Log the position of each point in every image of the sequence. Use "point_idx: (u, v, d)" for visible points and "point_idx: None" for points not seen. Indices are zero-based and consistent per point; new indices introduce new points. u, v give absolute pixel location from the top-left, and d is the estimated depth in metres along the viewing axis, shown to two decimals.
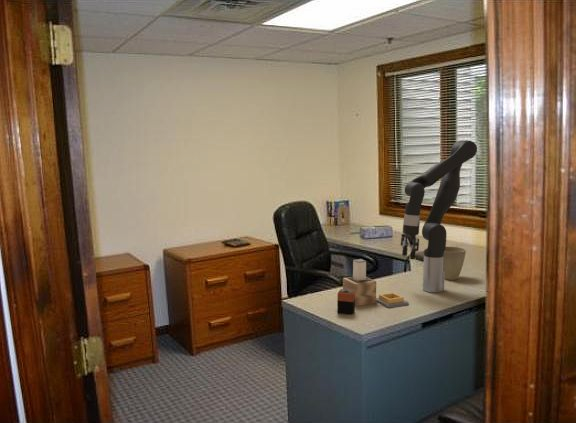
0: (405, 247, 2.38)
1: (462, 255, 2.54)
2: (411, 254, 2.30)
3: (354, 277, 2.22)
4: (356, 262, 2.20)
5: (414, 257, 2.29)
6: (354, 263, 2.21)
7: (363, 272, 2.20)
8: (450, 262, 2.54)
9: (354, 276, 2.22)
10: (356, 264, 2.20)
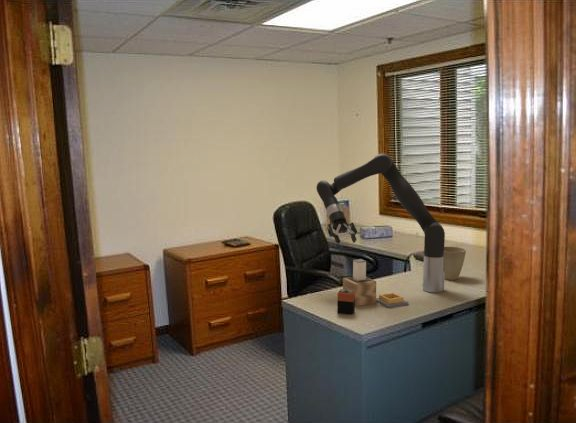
0: (351, 234, 2.34)
1: (462, 255, 2.54)
2: None
3: (354, 277, 2.22)
4: (356, 262, 2.20)
5: (336, 240, 2.29)
6: (354, 263, 2.21)
7: (363, 272, 2.20)
8: (450, 262, 2.54)
9: (354, 276, 2.22)
10: (356, 264, 2.20)
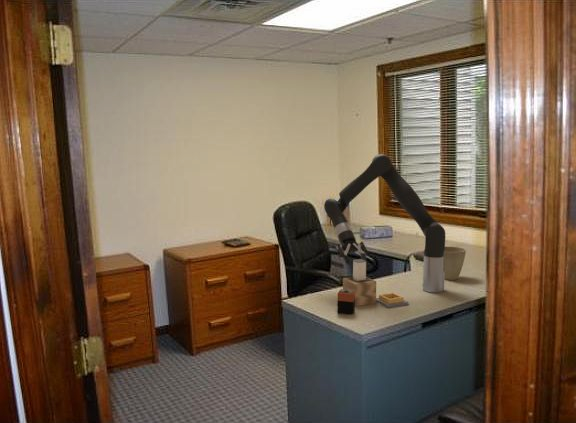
0: (361, 254, 2.27)
1: (462, 255, 2.54)
2: None
3: (354, 277, 2.22)
4: (356, 262, 2.20)
5: (346, 261, 2.22)
6: (354, 263, 2.21)
7: (363, 272, 2.20)
8: (450, 262, 2.54)
9: (354, 276, 2.22)
10: (356, 264, 2.20)
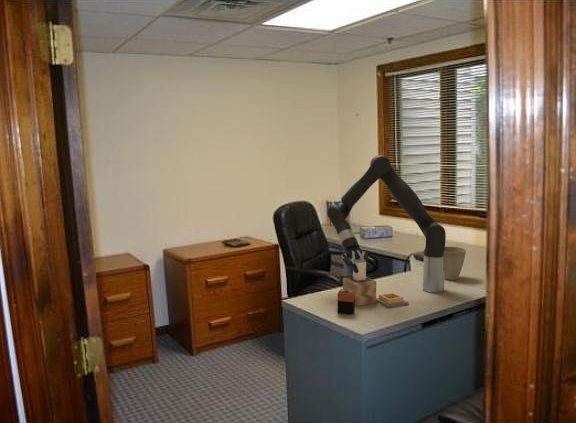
0: None
1: (462, 255, 2.54)
2: None
3: (354, 277, 2.22)
4: (356, 262, 2.20)
5: (354, 270, 2.19)
6: None
7: (363, 272, 2.20)
8: (450, 262, 2.54)
9: (354, 276, 2.22)
10: (356, 264, 2.20)
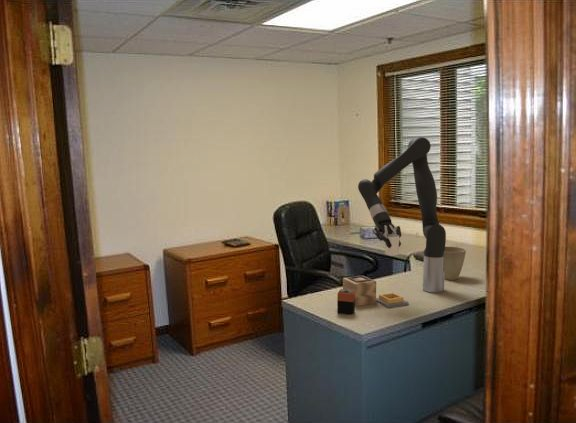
0: None
1: (462, 255, 2.54)
2: None
3: (387, 252, 2.17)
4: (389, 236, 2.15)
5: (387, 244, 2.14)
6: None
7: (396, 247, 2.15)
8: (450, 262, 2.54)
9: (387, 251, 2.17)
10: (389, 238, 2.15)
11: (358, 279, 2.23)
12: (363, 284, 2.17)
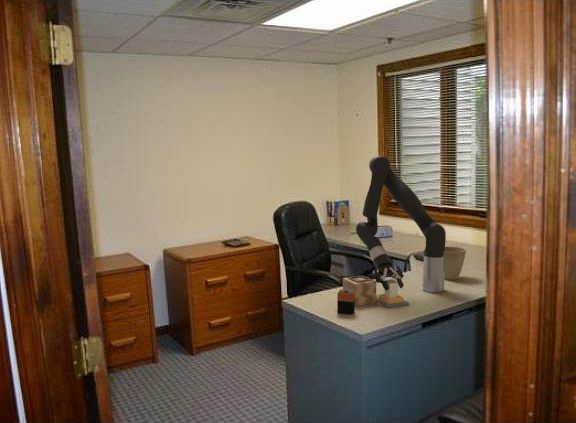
0: (397, 279, 2.22)
1: (462, 255, 2.54)
2: None
3: None
4: (388, 283, 2.18)
5: (385, 287, 2.16)
6: None
7: (395, 293, 2.18)
8: (450, 262, 2.54)
9: None
10: (388, 285, 2.18)
11: (358, 279, 2.23)
12: (363, 284, 2.17)
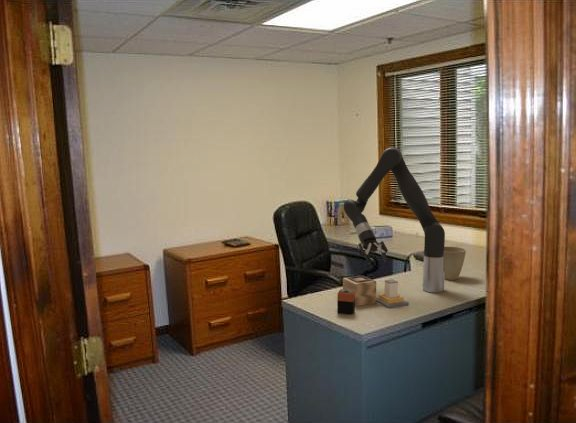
0: (382, 253, 2.32)
1: (462, 255, 2.54)
2: None
3: None
4: (388, 283, 2.18)
5: (368, 260, 2.26)
6: (385, 283, 2.19)
7: (395, 293, 2.18)
8: (450, 262, 2.54)
9: None
10: (388, 285, 2.18)
11: (358, 279, 2.23)
12: (363, 284, 2.17)
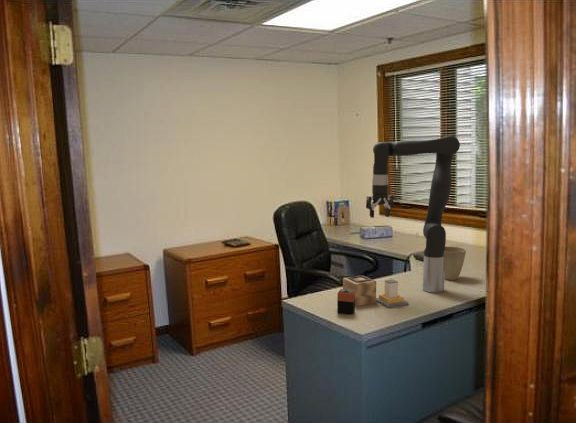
0: (386, 208, 2.39)
1: (462, 255, 2.54)
2: None
3: None
4: (388, 283, 2.18)
5: (370, 215, 2.35)
6: (385, 283, 2.19)
7: (395, 293, 2.18)
8: (450, 262, 2.54)
9: None
10: (388, 285, 2.18)
11: (358, 279, 2.23)
12: (363, 284, 2.17)
